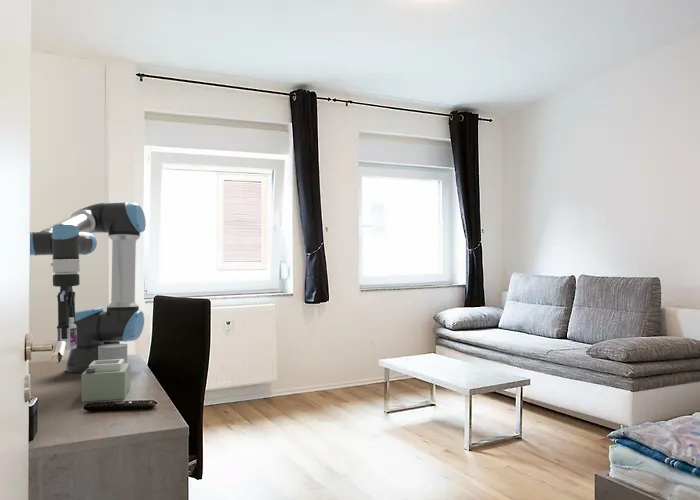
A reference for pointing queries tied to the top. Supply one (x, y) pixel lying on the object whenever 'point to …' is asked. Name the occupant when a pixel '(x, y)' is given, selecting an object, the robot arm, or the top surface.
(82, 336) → the robot arm
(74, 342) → the pill bottle
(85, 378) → the green open box
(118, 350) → the speckled grey cylinder
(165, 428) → the top surface
